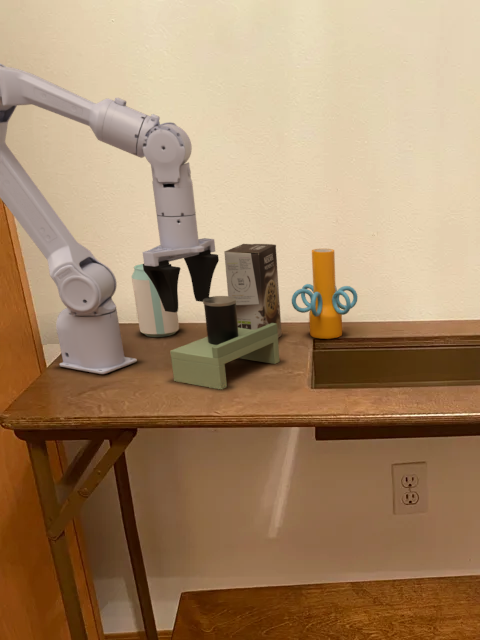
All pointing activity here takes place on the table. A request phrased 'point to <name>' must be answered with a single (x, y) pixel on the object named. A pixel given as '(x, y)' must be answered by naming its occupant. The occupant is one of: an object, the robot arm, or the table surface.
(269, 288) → the coffee box
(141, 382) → the table surface
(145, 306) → the can
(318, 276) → the orange and blue post
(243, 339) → the shelf
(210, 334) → the canister
